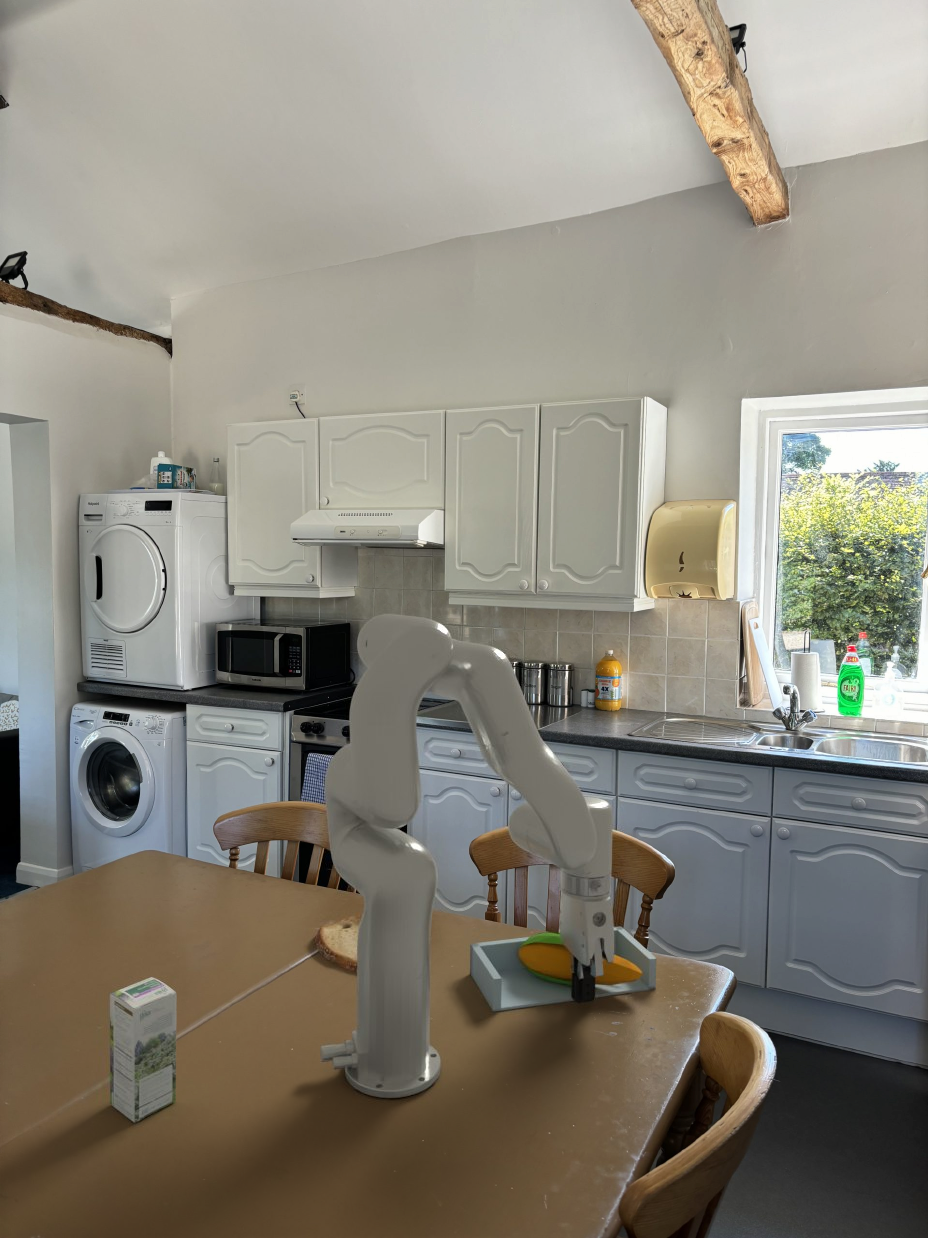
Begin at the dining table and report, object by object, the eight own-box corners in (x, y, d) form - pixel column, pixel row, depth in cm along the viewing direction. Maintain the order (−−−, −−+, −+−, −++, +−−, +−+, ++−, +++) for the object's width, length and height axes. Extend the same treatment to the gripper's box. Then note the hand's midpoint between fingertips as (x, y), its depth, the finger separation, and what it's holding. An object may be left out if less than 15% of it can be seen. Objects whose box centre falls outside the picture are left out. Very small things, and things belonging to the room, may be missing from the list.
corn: (526, 917, 144) (647, 937, 137) (526, 960, 145) (646, 982, 138) (512, 938, 137) (639, 960, 130) (512, 983, 138) (638, 1007, 131)
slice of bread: (406, 979, 140) (406, 957, 140) (297, 973, 141) (297, 951, 141) (421, 932, 158) (421, 912, 157) (324, 927, 159) (324, 907, 159)
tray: (493, 1011, 129) (494, 979, 129) (469, 973, 141) (470, 944, 141) (655, 989, 137) (656, 958, 136) (620, 954, 149) (620, 926, 148)
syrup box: (152, 1084, 110) (150, 974, 109) (178, 1103, 107) (177, 989, 106) (109, 1105, 106) (107, 991, 105) (135, 1126, 102) (133, 1007, 101)
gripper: (632, 897, 123) (628, 1021, 125) (587, 862, 138) (584, 974, 139) (584, 903, 121) (581, 1029, 122) (543, 866, 135) (541, 980, 137)
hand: (583, 999), depth 131 cm, fingers closed
